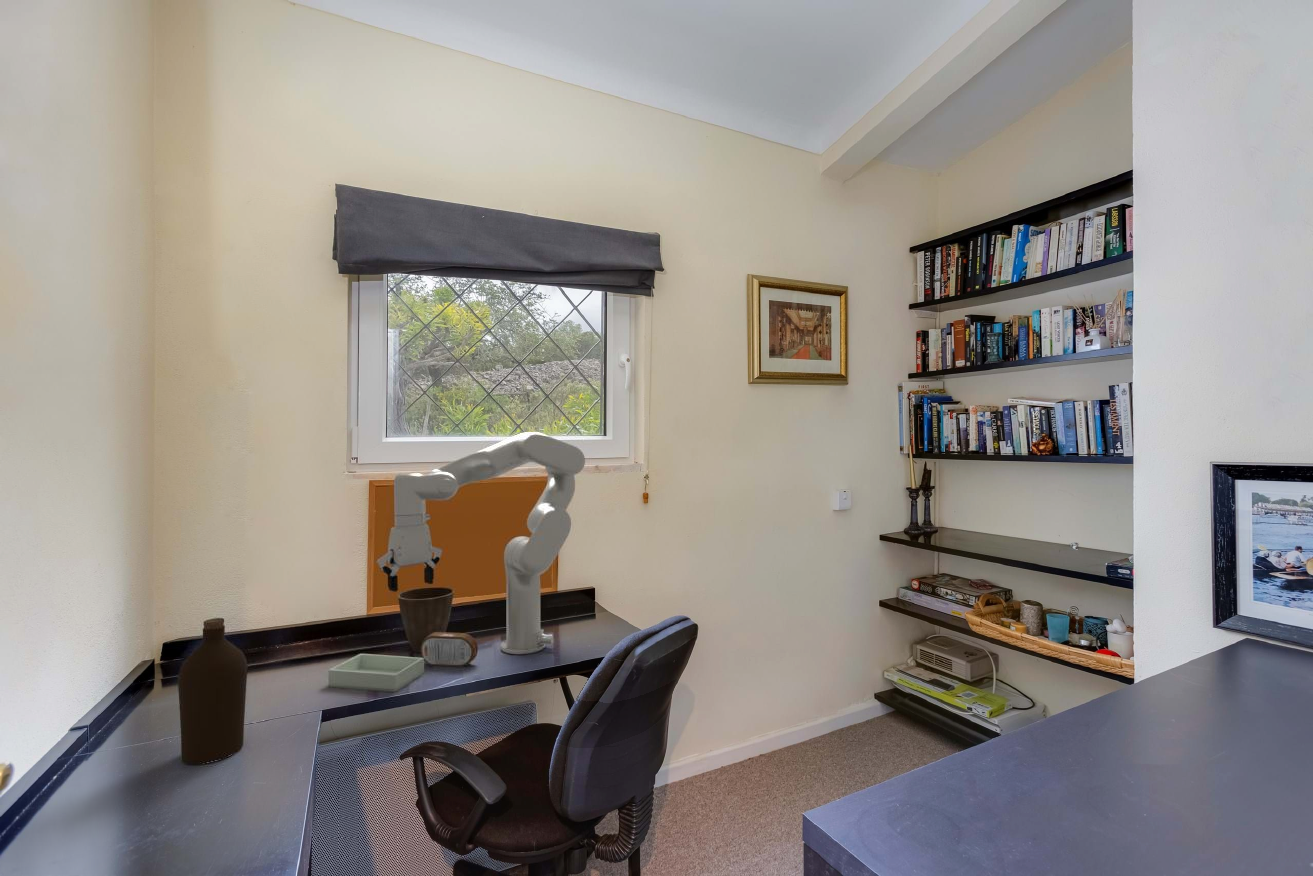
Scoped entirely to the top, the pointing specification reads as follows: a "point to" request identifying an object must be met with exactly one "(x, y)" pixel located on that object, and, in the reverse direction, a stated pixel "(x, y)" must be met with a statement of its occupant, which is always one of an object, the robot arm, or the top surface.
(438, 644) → the tin
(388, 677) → the tray
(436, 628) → the plant pot
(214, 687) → the olive oil
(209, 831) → the top surface
